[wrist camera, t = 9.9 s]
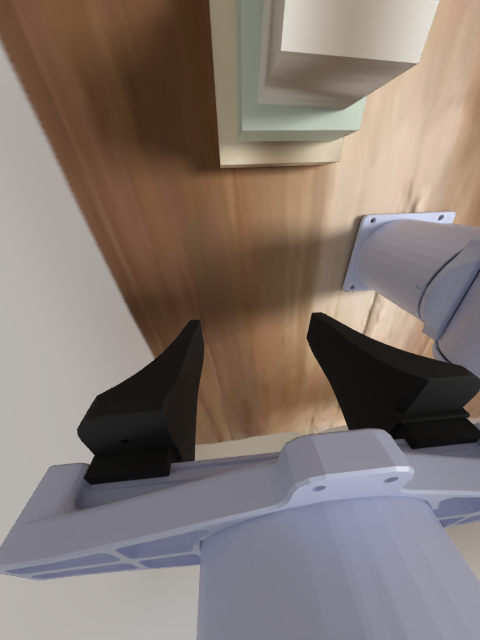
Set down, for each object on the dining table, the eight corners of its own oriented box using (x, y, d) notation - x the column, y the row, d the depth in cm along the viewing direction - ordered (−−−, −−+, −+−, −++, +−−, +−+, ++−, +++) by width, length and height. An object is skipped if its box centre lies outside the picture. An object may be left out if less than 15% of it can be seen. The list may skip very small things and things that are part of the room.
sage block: (366, -37, 10) (414, -110, 8) (334, 140, 14) (359, 130, 12) (234, -44, 10) (239, -124, 7) (237, 141, 14) (242, 130, 11)
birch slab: (350, -16, 12) (384, -67, 10) (322, 165, 17) (339, 161, 15) (207, -19, 12) (204, -74, 9) (220, 168, 17) (220, 164, 14)
